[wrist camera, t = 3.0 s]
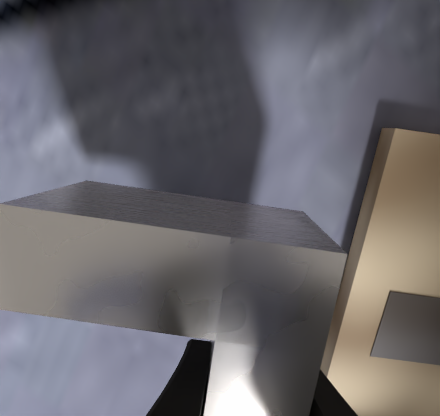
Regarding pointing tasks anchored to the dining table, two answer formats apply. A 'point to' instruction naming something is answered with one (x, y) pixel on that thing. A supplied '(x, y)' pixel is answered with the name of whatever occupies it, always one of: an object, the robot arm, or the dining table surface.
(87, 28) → the dining table surface
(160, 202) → the bracket
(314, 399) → the robot arm
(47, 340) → the dining table surface
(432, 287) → the arena board
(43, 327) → the dining table surface
